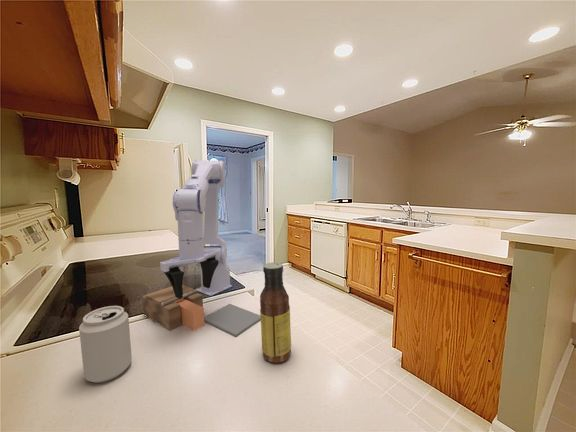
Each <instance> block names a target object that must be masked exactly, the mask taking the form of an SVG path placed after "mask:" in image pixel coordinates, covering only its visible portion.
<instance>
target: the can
mask: <svg viewBox="0 0 576 432" xmlns="http://www.w3.org/2000/svg"><path fill="white" fill-rule="evenodd" d="M129 319H130V318H129V314H128V313H127V312H126V311H125V309H124V307H122V306H120V305H108V306H104V307H100V308H97V309H94V310H92V311H89V312H88V313H87V314H85V315H84V316H83V318H82V323H81V324H80V325H79V327H78V330H79V339H80V348H81V351H80V352H81V357H82V358H81V359H82V368H83V369H82V370H83V375H84V376H83V377H84V379H85V380H86V381H87V382H92V383H99V384H100V383H105V382H109V381H111V380H113V379H115V378H117V377H119V376H120V375H121V374H123V373H124V372H125V371H126V370H127V369H128V367H129V366H130V365H131V364H132V359H133V358H132V346H131V345H132V344H131V333H130V320H129Z"/></svg>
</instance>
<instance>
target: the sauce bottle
mask: <svg viewBox="0 0 576 432" xmlns="http://www.w3.org/2000/svg"><path fill="white" fill-rule="evenodd" d="M262 268H263V269H262V270H263V273H264V287H263V289H262V291H261V293H260V296H259V304H260V309H259V311H260V312H259V315H260V317H261V320H260V328H261V329H260V331H261V334H260V336H261V350H262V353H263V354H262V355H263V357H264V359H265V360H266V361H267V362H270V363H274V364H280V363H282V362H286V360H287V361H288V359H289V358H290V356H291V353H292V333H291V331H292V330H291V328H292V327H291V306H290V300H289V299H290V298H289V294H288V292H287V290H286V288H285V287H284V286H285V285H284V281H283V280H284V279H283V272H284V265H283V263H280V262H275V261H273V262H267V263H265V264H264V265H263V267H262Z"/></svg>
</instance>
